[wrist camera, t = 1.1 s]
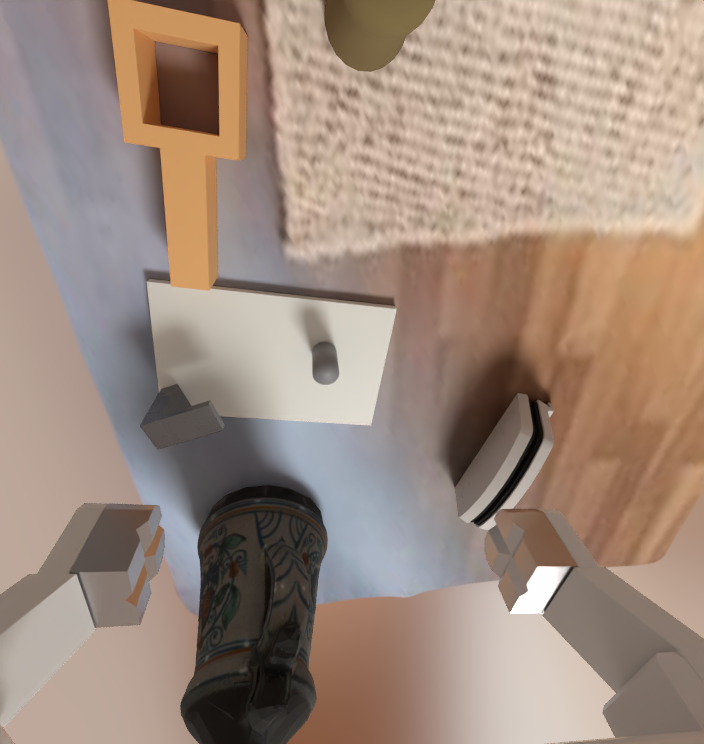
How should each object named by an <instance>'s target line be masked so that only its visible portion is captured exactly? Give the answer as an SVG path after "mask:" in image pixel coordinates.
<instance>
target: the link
mask: <svg viewBox="0 0 704 744" xmlns="http://www.w3.org/2000/svg"><path fill="white" fill-rule="evenodd" d="M108 8H109V16H110V25H111V33H112V42H113V50H114V59H115V67H116V76H117V84H118V93H119V101H120V110H121V118H122V127H123V135H124V142H126V143H132V144H138V145H145V146H151V147H157V148H160V154H161V167H162V180H163V192H164V205H165V218H166V230H167V243H168V255H169V268H170V281H171V287H180V288H189V289H198V290H207V291H209V290H210V288H211V287H212V285H213V284H214V282H215V280H216V279H217V277H218V229H217V171H216V157H219V158H225V159H231V160H238V161H239V160H242V159H244V158H246V126H247V63H248V36H247V34H246V33H245V31H244V30H243V28H242V26H241V25H240V23H235V22H231V21H226V20H221V19H217V18H212V17H207V16H203V15H198V14H193V13H189V12H184V11H180V10H175V9H170V8H166V7H161V6H156V5H152V4H147V3H142V2H138V1H133V0H108ZM155 41H157V42H162V43H167V44H172V45H177V46H182V47H187V48H192V49H197V50H202V51H207V52H212V53H217V54H218V62H219V134H213V133H207V132H202V131H196V130H190V129H184V128H178V127H172V126H166V125H161V116H160V103H159V90H158V77H157V63H156V50H155Z"/></svg>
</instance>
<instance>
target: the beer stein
mask: <svg viewBox="0 0 704 744" xmlns="http://www.w3.org/2000/svg"><path fill="white" fill-rule="evenodd" d="M327 541H328V539H327V532H326V529H325V526H324V524H323V520H322V516H321V512H320V510H319V509H318V508H317V507H316V505H315V504H314V503H313V502H312V500H311V499H310V498H308V497H306V496H304V495H302V494H299V493H297V492H295V491H293V490H291V489H289V488H282V487H276V486H269V485H268V486H257V487H246V488H243V489H241V490H238V491H236V492H233V493H231V494H228V495H226V496H224V497H223V498H222V499H221V500H220V501H219V502H218V503H217V504H215V505H214V507H213V508H212V510H211V512H210V514H209V516H208V517H207V519H206V521H205V523H204V525H203V527H202V529H201V531H200V534H199V539H198V555H199V559H200V570H201V588H200V606H199V619H198V621H199V626H198V639H197V653H196V667H195V672H194V676H193V678H192V679H191V681H190V682H189V684H188V687H187V689H186V692H185V694H184V697H183V699H182V702H181V716H182V717H183V720H184V722H185V724H186V727H187V729H188V731H189V732H190V733H191V735H192V736H193V737H194V738H195V739H196V741H197V742H198V743H199V744H286V743H287V742H288V741H289V740H290V739H291V738H292V736H293V735H294V734H295V733H296V732H297V731H298V730H299V729H300V728H301V727H302V726H303V724H304V723H305V722H306V721H307V719H308V717H309V715H310V713H311V712H312V710H313V708H314V706H315V703H316V690H315V685H314V681H313V678H312V675H311V673H310V672H309V656H310V650H311V640H312V633H313V625H314V615H315V608H316V597H317V588H318V577H319V571H320V566H321V562H322V560H323V558H324V555H325V553H326V550H327Z"/></svg>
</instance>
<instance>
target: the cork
mask: <svg viewBox="0 0 704 744" xmlns="http://www.w3.org/2000/svg"><path fill="white" fill-rule="evenodd" d="M434 3H435V0H327V1H326V5H325V26H326V30H327V35H328V39H329V41H330V43H331V45H332V47H333V49H334V51H335V53H336V55H337V56H338V57H339V58H340V59H341V60H342V61H343V62H344V63H345V64H346V65H348V66H350V67H352V68H354V69H356V70H358V71H369V72H371V71H374V70H377V69H380V68H383V67H384V66H386V65H387V64H388V63H389V62H391V61H392V60H393V59H394V58H395V56H396V55H397V54H398V52H399V51H400V49H401V48H402V46H403V43H404V40H405V37H406V36H407V35H408V34H409V33H411V32H412V31H413V30H414V29H416V28H417V27H418V26H419V25H421V24H422V22H423V21H424V20H425V18H426V17H427V15H428V14H429V12H430V11H431V9H432V8H433V5H434Z"/></svg>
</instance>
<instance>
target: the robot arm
mask: <svg viewBox="0 0 704 744" xmlns="http://www.w3.org/2000/svg"><path fill="white" fill-rule="evenodd" d="M161 517H162V514H161V509H160V506H157V505H132V504H100V503H99V504H97V503H84V504H83V505H82V506H81V507H79V508H78V509H77V510H76V512H75V514H74V515H73V517H72V519H71V520H70V522H69V523H68V525H67V526H66V528H65V530H64V531H63V533H62V535H61V536H60V538H59V540H58V541H57V543H56V544H55V546H54V547H53V549H52V551H51V552H50V554H49V556H48V557H47V559H46V561H45V562H44V564H43V565H42V567H41V568H40V570H39V572H38V573H37V574H29V575H27V576H26V577H24V578H23V579H21V580H20V581H19V582H17V583H16V584H14V585H13V586H12V587H10V588H9V589H7V590H6V591H5V592H3V593H2V594H0V744H15V743H14V742H13V741H12V739H11V738H10V737H9V735H8V734H7V733H6V731H5V730H4V729H3V728H4V727H5V726H6V725H7V724H8V723H9V721H11V719H12V718H13V717H14V716H15V715H16V714H17V713H18V712H19V711H20V710H21V709H22V708H23V707H24V706H25V705H26V704H27V703H28V701H29V700H30V699H31V698H32V697H33V696H34V695H35V694H36V693H37V692H38V691H39V690H40V689H41V688H42V687H43V686H44V685H45V683H46V682H47V681H48V680H49V679H50V678H51V677H52V676H53V675H54V674H55V673H56V672H57V671H58V670H59V669H60V668H61V666H62V665H63V664H64V663H65V662H66V661H67V660H68V659H69V658H70V657H71V656H72V655H73V654H74V653H75V652H76V651H77V649H78V648H79V647H80V646H81V645H82V644H83V643H84V642H85V641H86V640H87V639H88V638H89V637H90V636H91V635H92V634H93V632H95V628H96V627H113V626H129V625H130V626H131V625H140V624H141V621H142V618H143V615H144V612H145V610H146V607H147V604H148V601H149V598H150V595H151V589H150V584H149V581H150V580H151V579H152V578H153V577H154V576H155V575H156V574H158V571H159V568H160V565H161V562H162V558H163V552H164V547H165V534H164V529H163V528H162V527H160V526H159V522H160V520H161ZM494 520H495V522H496V524H497V525H495V526H494V527H493V528H491V529H490V530H488V533H487V535H486V538H485V554H486V558H487V561H488V564H489V566H490V569H491V570H492V571H494V572H495V573H496V574H497V575H498V576H499V577H500V580H499V584H498V587H499V589H500V592H501V594H502V596H503V599H504V601H505V603H506V606H507V608H508V610H509V612H510V613H543V617H544V618H545V619H546V620H547V621H548V622H549V623H550V624H551V625H552V626H553V627H554V628H555V629H556V630H557V631H558V632H559V633H560V634H561V635H562V637H564V639H565V640H566V641H567V642H568V643H569V644H570V645H571V646H572V647H573V648H574V649H575V650H576V651H577V652H578V653H579V654H580V655H581V657H582V658H583V659H584V660H585V661H586V662H587V663H588V664H589V665H590V666H591V667H592V668H593V669H594V670H595V671H596V672H597V673H598V674H599V675H600V677H601V678H602V679H603V680H604V681H605V682H606V683H607V684H608V685H609V686H610V687H611V688H612V689H613V690H614V691H615V692H616V694H615V695H614V696H613V697H612V698H611V699H610V700H609V701H608V702H607V703H606V704H605V705H604V709H603V714H604V716H605V718H606V720H607V722H608V724H609V726H610V728H611V730H612V732H613V734H614V736H615V738H607V739H595V740H583V741H572V742H560V743H549V744H704V639H703V638H702V637H701V636H699V635H698V634H697V633H695V632H694V631H692V630H691V629H690V628H688V627H687V626H686V625H684V624H683V623H681V622H680V621H678V620H677V619H676V618H674V617H673V616H672V615H670V614H669V613H668V612H666V611H665V610H663V609H662V608H661V607H659V606H658V605H656V604H655V603H654V602H652V601H651V600H650V599H648V598H647V597H646V596H644V595H643V594H641V593H640V592H638V591H637V590H636V589H634V588H633V587H632V586H630V585H629V584H628V583H626V582H625V581H623V580H622V579H621V578H619V577H618V576H617V575H615V574H614V573H612V572H611V571H610V570H608V569H607V568H606V567H599V566H598V564H597V563H596V561H595V560H594V558H593V557H592V556H591V554H590V553H589V551H588V550H587V548H586V547H585V545H584V544H583V542H582V541H581V540H580V538H579V537H578V535H577V534H576V532H575V531H574V529H573V528H572V526H571V525H570V524H569V522H568V521H567V519H566V518H565V516H564V515H563V514H562V513H561V512H560V511H559V510H557V509H501V510H499V511H498V512H497V513H496V515H495V517H494Z"/></svg>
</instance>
